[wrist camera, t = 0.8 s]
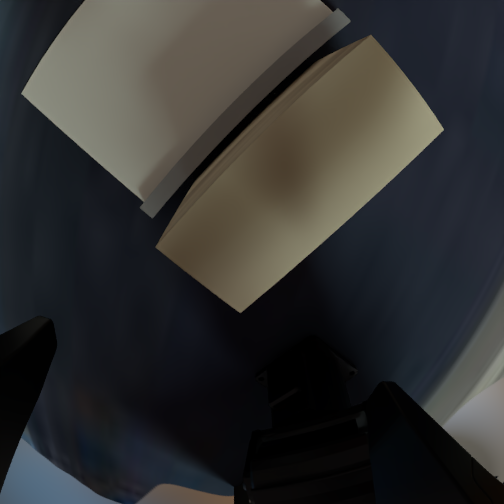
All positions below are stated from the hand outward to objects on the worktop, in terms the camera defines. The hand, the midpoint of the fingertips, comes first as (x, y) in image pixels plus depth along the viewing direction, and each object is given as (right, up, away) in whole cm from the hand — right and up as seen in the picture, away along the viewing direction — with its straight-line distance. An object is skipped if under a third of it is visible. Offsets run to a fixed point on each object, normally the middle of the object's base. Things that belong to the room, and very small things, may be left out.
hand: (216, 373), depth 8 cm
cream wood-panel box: (+2, +9, +10) cm, 14 cm away
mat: (-4, +15, +7) cm, 17 cm away
